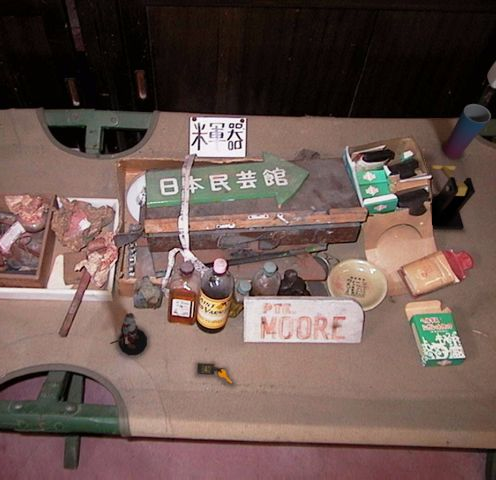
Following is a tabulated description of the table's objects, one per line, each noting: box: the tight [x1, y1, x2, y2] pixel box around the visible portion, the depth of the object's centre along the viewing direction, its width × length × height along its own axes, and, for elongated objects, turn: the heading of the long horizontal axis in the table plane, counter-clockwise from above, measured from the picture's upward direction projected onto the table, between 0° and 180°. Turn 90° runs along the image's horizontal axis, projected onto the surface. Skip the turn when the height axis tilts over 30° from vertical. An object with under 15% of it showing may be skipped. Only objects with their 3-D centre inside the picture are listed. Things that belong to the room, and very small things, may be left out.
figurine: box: [109, 312, 148, 356], centre depth 115 cm, size 7×7×15 cm
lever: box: [430, 164, 468, 196], centre depth 134 cm, size 13×6×2 cm, turn 178°
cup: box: [442, 103, 492, 159], centre depth 144 cm, size 7×7×15 cm
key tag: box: [197, 363, 233, 384], centre depth 117 cm, size 8×3×1 cm, turn 73°
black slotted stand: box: [431, 176, 476, 231], centre depth 134 cm, size 10×9×13 cm
